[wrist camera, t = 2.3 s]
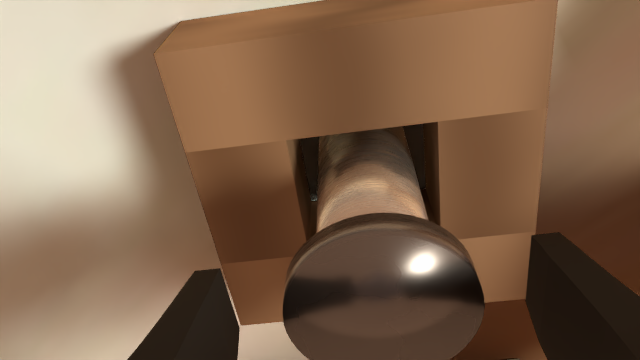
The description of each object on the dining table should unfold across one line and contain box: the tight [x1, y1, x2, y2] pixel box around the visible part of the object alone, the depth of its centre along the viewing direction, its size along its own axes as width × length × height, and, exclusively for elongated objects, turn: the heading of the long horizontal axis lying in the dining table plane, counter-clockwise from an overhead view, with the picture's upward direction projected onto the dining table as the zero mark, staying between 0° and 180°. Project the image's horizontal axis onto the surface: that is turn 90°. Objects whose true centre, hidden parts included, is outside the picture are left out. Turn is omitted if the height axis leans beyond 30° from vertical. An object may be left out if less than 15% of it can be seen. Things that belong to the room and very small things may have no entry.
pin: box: [283, 126, 485, 360], centre depth 15 cm, size 4×4×8 cm
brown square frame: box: [154, 0, 558, 325], centre depth 17 cm, size 10×10×3 cm
